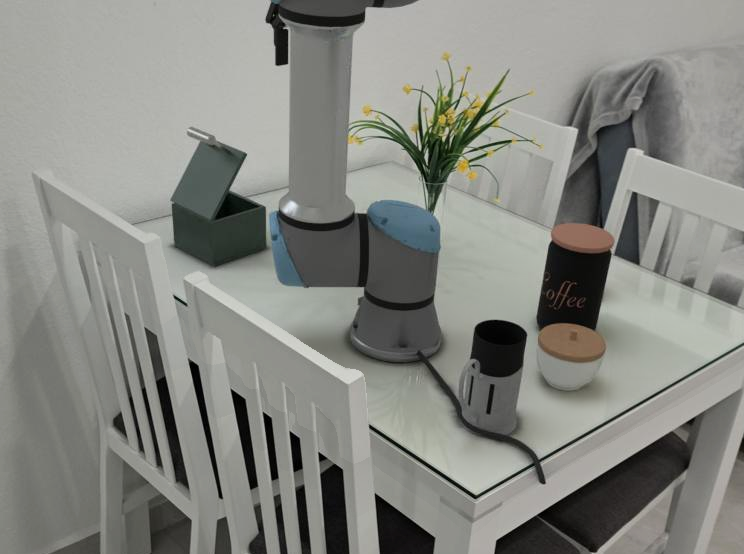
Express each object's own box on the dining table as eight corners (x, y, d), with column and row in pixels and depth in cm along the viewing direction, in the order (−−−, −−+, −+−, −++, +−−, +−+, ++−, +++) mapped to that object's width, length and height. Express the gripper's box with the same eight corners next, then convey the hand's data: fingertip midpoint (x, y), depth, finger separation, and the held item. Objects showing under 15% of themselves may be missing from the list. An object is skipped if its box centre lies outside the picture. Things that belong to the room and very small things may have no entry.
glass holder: (527, 418, 137) (542, 331, 129) (478, 462, 127) (492, 370, 119) (477, 396, 141) (489, 311, 133) (427, 437, 131) (436, 348, 123)
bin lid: (205, 137, 173) (180, 119, 167) (247, 154, 167) (222, 136, 161) (172, 202, 173) (145, 186, 167) (213, 221, 167) (186, 206, 161)
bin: (227, 229, 187) (225, 188, 182) (266, 248, 180) (266, 206, 176) (174, 246, 178) (171, 203, 173) (213, 266, 172) (211, 223, 167)
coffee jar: (522, 324, 162) (538, 230, 152) (561, 309, 168) (578, 218, 159) (568, 350, 156) (587, 253, 146) (607, 332, 162) (627, 239, 152)
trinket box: (595, 367, 151) (606, 318, 146) (599, 402, 142) (611, 351, 137) (531, 360, 152) (539, 310, 147) (531, 394, 143) (540, 342, 138)
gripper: (373, -39, 158) (366, 85, 170) (276, -61, 171) (276, 56, 182) (342, -37, 153) (338, 90, 165) (245, -59, 166) (247, 60, 177)
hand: (305, 72), depth 174 cm, fingers open, 13 cm apart
